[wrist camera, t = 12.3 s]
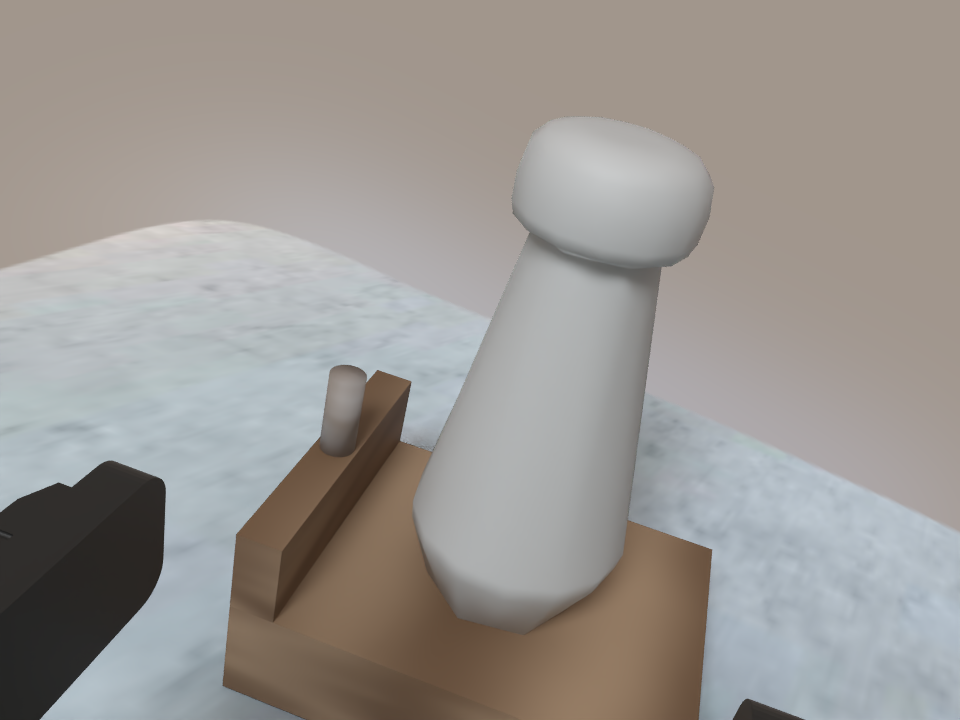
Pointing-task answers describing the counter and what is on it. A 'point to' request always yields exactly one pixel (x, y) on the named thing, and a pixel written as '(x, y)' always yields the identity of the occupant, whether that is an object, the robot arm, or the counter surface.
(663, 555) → the wooden stand
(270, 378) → the counter surface
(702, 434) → the counter surface
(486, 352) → the salt shaker
